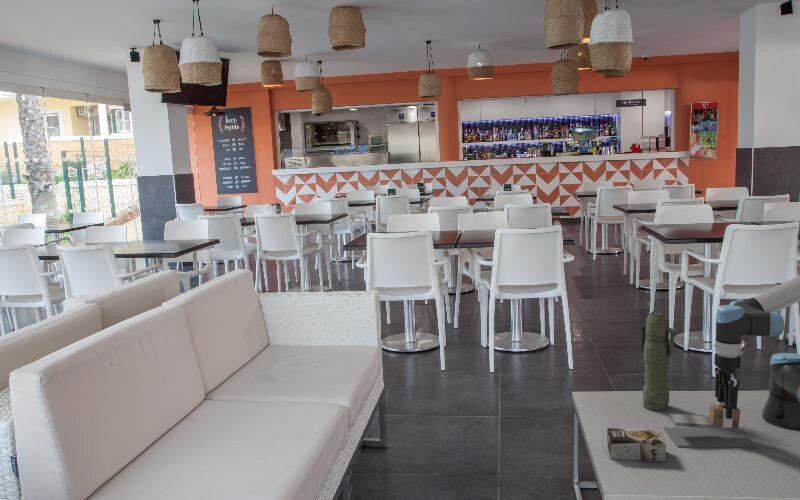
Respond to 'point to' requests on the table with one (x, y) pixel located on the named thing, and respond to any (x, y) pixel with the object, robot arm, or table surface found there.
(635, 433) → the coffee box
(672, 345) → the thermos
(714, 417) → the wood block metal plate
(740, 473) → the table surface
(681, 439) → the mat
